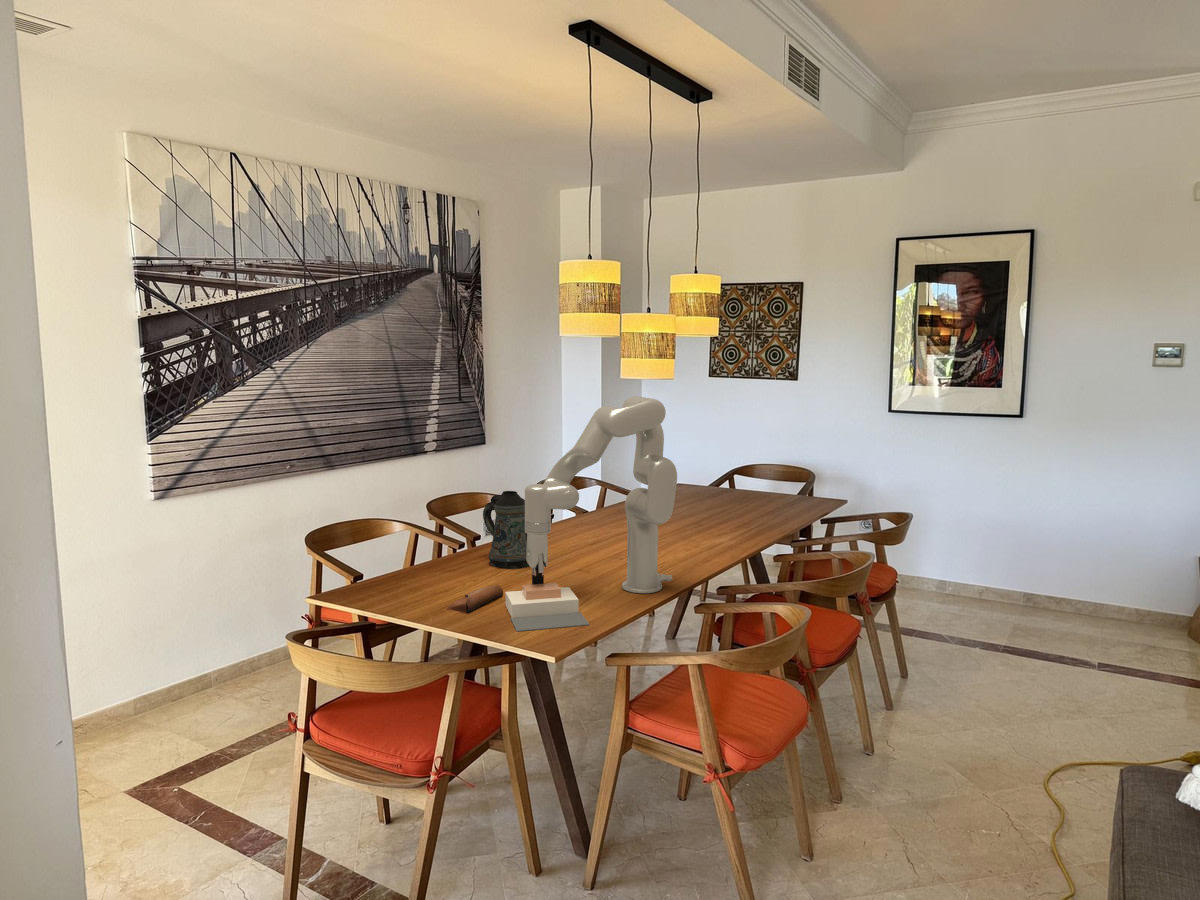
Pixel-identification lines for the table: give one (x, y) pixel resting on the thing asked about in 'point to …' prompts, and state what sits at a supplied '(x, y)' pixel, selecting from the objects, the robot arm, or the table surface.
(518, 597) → the block
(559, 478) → the robot arm
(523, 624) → the mat
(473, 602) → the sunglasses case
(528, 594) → the tile
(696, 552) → the table surface
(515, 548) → the beer stein
